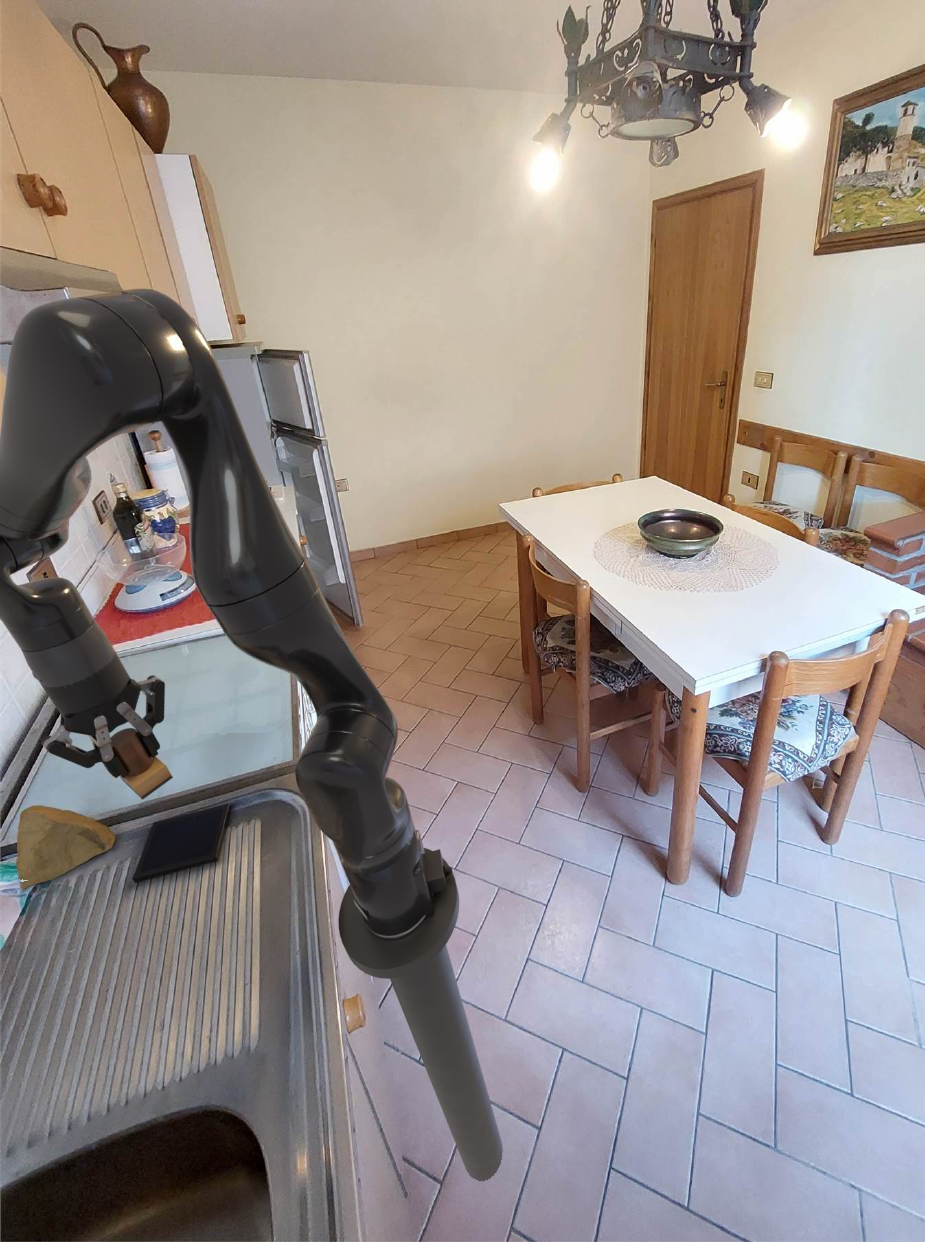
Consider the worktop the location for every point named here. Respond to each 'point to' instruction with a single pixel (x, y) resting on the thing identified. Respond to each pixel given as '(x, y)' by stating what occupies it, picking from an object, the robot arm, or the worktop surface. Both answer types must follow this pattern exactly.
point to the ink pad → (183, 843)
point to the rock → (56, 842)
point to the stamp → (139, 763)
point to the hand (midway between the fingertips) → (138, 763)
